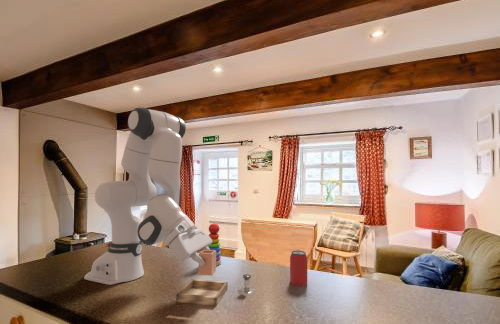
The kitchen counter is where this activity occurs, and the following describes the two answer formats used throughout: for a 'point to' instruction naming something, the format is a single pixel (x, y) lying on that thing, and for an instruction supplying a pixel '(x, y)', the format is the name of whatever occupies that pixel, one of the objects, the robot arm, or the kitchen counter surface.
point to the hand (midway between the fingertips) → (207, 261)
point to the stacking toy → (215, 241)
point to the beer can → (298, 268)
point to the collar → (208, 262)
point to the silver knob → (246, 286)
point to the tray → (202, 292)
